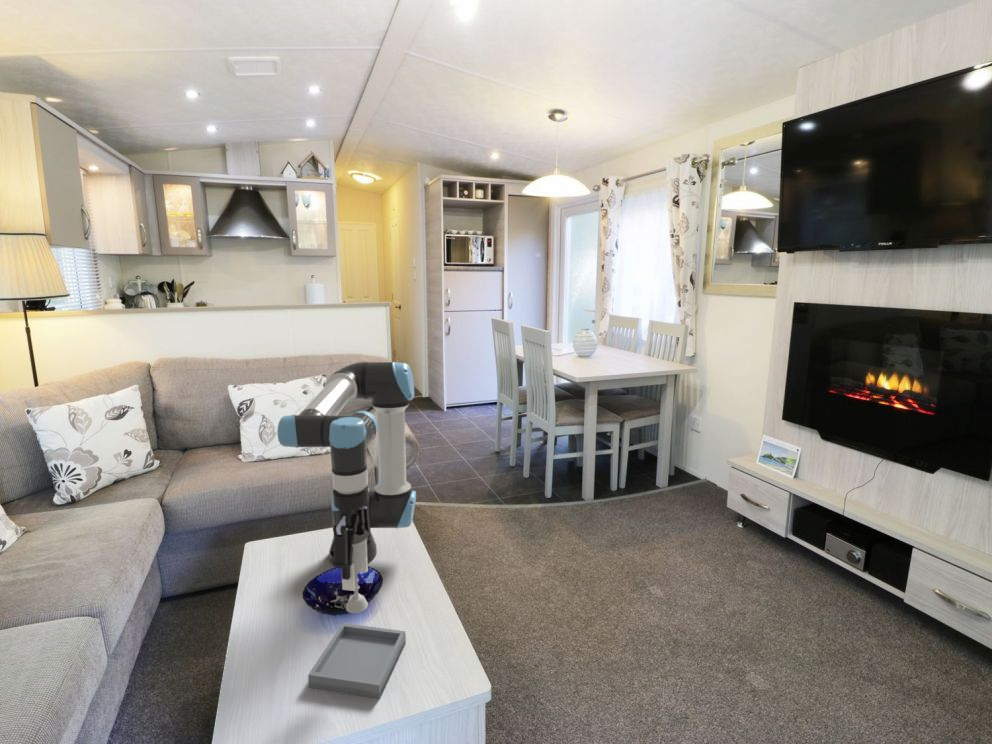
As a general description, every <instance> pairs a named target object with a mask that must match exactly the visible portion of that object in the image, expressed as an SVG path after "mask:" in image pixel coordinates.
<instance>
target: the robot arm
mask: <svg viewBox="0 0 992 744" xmlns="http://www.w3.org/2000/svg"><path fill="white" fill-rule="evenodd" d="M414 397H415V383H414V376H413V372H412V369H411V367H410V365H409V364H408V363H405V362H397V361H396V362H395V361H381V362H379V361H378V362H377V361H375V362H374V361H373V362H371V361H370V362H366V361H365V362H364V361H361V362H360V361H359V362H355V363H351V364H349V365H345V366H344V367H342V368H339V369H338V370H336V371H335V372H334V373H332V374H331V375H330V376H329V377H328V378H327V379H326V381H325V384H324V387H323V389H322V390H321V391H319V393H318V394H317V395H316V396H315V397H314V398H313V399H312V400H311V401H310V403H308V404H307V406H305V408H304V409H303V410H302V411H301V412H300V413H299V414H297V415H296V414H291V415H284V416H282V417H281V418H280V420H279V422H278V425H277V439H278V440H277V441H278V442H279V444H280V445H281V446H282V447H285V448H296V449H298V448H329V449H330V461H331V473H330V475H331V477H332V488H333V491H332V496H331V497H332V498H331V507H330V509H331V514H332V515H331V516H332V531H333V538H332V540H331V544H330V548H329V551H328V552H329V553H328V556H329V557H328V558H329V562H330V563H331V564H332V565H334V567H335V568H339V569H341V571H340V572H341V586H342V588H341V589H342V590H344V591H350V592H351V591H353V592H354V590H355V575H354V563H352V554H353V546H352V545H353V542H354V534H356V535H359V536H360V535H363V534H364V529H365V530H367V531H368V533H369V535H368V538H367V557H366V560H365V563H364V565H363V568H362V570H361V572H360V573H368V572H369V567H368V564H369V563H370V562H371V561H373V559H374V558H375V557H376V556H377V552H378V550H377V542H376V541H375V538H374V537H373V536H374V535H373V534H372V529H400V528H401V529H402V528H403V529H404V528H408V527H410V526H411V525H412V524H413V520H414V514H415V507H416V501H417V492H416V491H415V490H412V484H411V483H410V482H409V481H407V461H406V460H407V457H406V456H407V455H406V453H407V452H406V451H407V449H406V413H405V412H406V409H407V408H408V407H409V406H410V401H412V400H413V399H414ZM354 400H371V406H372V408H373V409H374V410H375V411H376V412H377V414H376V416H375V415H374V414H372V413H371V412H369V411H367V410H359V411H355V412H354V413H352V414H349V415H345V414H344V415H339V414H340V413H341V411H342V410H343V409H344V407H345V406H346V404H348V403H351V402H353V401H354ZM376 436H377V451H378V454H377V455H378V456H377V457H378V483H377V484H376V485H375V486H374V490H370V488H369V486H368V485H369V475H368V464H367V463H368V461H367V459H368V458H367V449H368V448H369V446H370V445H371V443H372V442H373V440H375V438H376ZM349 529H352V530H349Z"/></svg>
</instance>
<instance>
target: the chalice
mask: <svg viewBox="0 0 992 744" xmlns="http://www.w3.org/2000/svg"><path fill="white" fill-rule="evenodd" d="M349 530H352V529H349ZM368 535H369V533H368V531H367V530H365V529H364V534H363V535H360V536H359V535H356V534H354V542H353V545H352V546H353V554H352V563H354V575H355V590H354V591H353V594H352V595H351V596H349V598H348V601H347V603H346V605H345V610H346V612H348V613H349V614H360V613H362V612H364V611H365V610H366V609H367V608H368V606H369V603H368V601H367V599H366V597H365V596H364V595H363V594H361V593H359V589H360V588H361V587H360V585H359V581H360V579H359V577H358V574H360V573H362V572H361V570H362V568H363V565H364V563H365V560H366V557H367V538H368Z"/></svg>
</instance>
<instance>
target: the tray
mask: <svg viewBox="0 0 992 744" xmlns="http://www.w3.org/2000/svg"><path fill="white" fill-rule="evenodd" d="M406 635H407V634H406V631H405V630H399V629H398V630H397V629H389V628H384V627H383V628H382V627H376V626H368V625H367V626H366V625H360V624H352V623H346V622H345V623H344V622H342V623H341V625H340V626H339V628H338V630H337V631H336V632H335V634H334V636H333V637H332V638H331V640H330V642H328V645H326V647H325V649H324V650H323V652H322V654H321V655H320V656H319V658H318V659H317V661H316V662H315V664H314V665H313V667H312V668H311V669H310V671H309V673H308V674H307V677H308V679H307V680H308V688H310V689H315V690H322V691H329V692H334V693H341V694H346V695H347V694H349V695H354V696H359V697H367V698H373V699H379V700H380V699H381V698H382V695H383V694H384V690H386V687H387V685H388V683H389V680H390V678H391V676H392V674H393V673H394V669H395V668H396V665H397V662H398V661H399V659H400V657H401V654H402V652H403V650H404V649H405V646H406V643H407V642H406V640H407V639H406V638H407V637H406Z"/></svg>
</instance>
